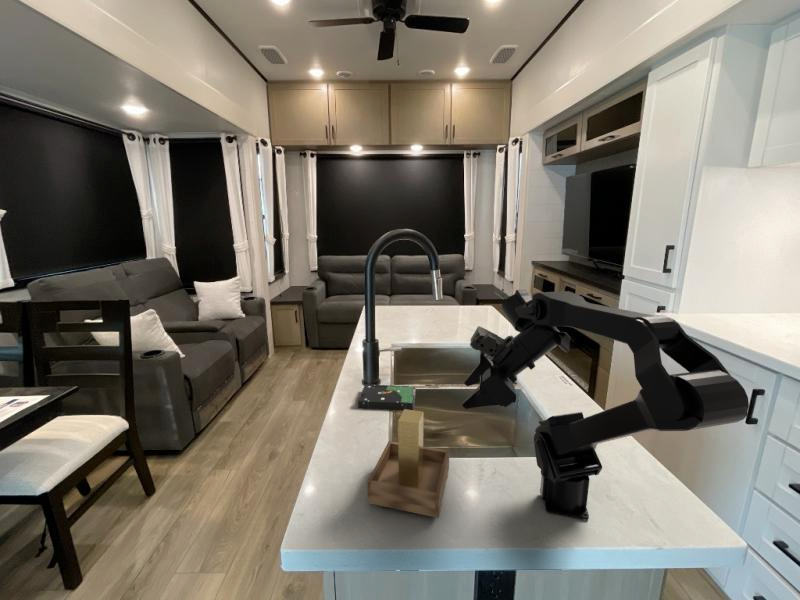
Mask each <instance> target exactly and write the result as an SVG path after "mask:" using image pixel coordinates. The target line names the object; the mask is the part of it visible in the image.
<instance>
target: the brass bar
mask: <svg viewBox="0 0 800 600" xmlns="http://www.w3.org/2000/svg"><path fill="white" fill-rule="evenodd" d="M397 421H398V422H397V425H398V426H397V431H398V432H397V433H398V435H397V436H398V440H397V443H398V461H399V484H404V485H409V486H415V487H418V486H419V483H420V480H421V477H422V474H423V447H424V411H421V410H415V409H414V410H406V409H404V410H402V413H401V415H400V417H399V418H398V420H397Z"/></svg>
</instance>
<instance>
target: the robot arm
mask: <svg viewBox="0 0 800 600" xmlns="http://www.w3.org/2000/svg"><path fill="white" fill-rule="evenodd" d="M500 308H501V311H502V313H503V314H504V316H505V317H506V319H507V320H508V322H509V324H511V326H512V327H513V329H514V330H515V332H518V334H516V335H515V336H513V335H508V336H506V337H505V338H502V337H501V336H499V335H498V334H496V333H494V332H492V331H490V330H488V329H486V328H485V327H483V326H481V325H480V326H477V327H476V329H475V330H474V333H473V335H472V336H471V338H470V339H469V340H470V341H469V343H470V344H469V346H470V347H471V348H472V349H474V350H475V351H479V361H478V362H477V364H476V365H475V367H474V368H473V370H472V371H471V372H470V374H469V375H468V376H467V377H466V379H465V380H464V382H463V383H464V385H465V386H466V387H470V386H474V385H476V384H479V385H478V386H477V387H476V389H475V390H473V392H472V393H471V394H469V396H468V397H467V398H466V399H465V400H463V402H462V403H461V405H462V407H463V408H464V409H465V410H467V409H469V410H470V409H473V408H474V409H476V408H482V407H490V406H491V407H492V406H499V407H504V408H506V409H508V408H510V407H511V406H512V405H514V404H515V403H516V401H517V391H516V386H515V385H514V384H513V383H515V382H516V381H518V375H520V374H521V373H522V372H524V371H525V370H526V369H527V368H528V369H529V370H530V371H532V370H533V369H534V368H536V365H535V363H536V362H537V361H538V360H540V359H541V358H542V357H543V356H545V355H547V354H548V353H549V352H551V351H552V350H553V349H555V348H556V347H557V346H558V347H559V348H560V349H561V350H562V351H564V352H565V353H569V352H570V341H571V336H570V335H569V334H568V333H566V332H564V331H563V332H562V331H561V332H560V330H559V329H558V327H560V328H561V327H564V328H565V327H567V328H573V329H576V330H579V331H583V332H586V333H589V334H593V335H596V336H598V337H602V338H606V339H609V340H612V341H616V342H620V343H622V344H625V345H627V346H628V347H629V349H630V351H631V353H632V355H633V363H634V372H635V373H634V374H635V378H636V381H637V382H638V383H639V385H640V387H641V389H639V392H638V394H637V396H636V397H635V399H632V400H631V401H628V402H625V403H622V404H619V405H617V406H614V407H612V408H609V409H607V410H603V411H600V412H598V413H594V414H592V415H589V416H586V417H584V413H583V411H577V412H572V413H564V414H559V415H552V416H550V417H548V418H547V419H543V420H542V419H541V420H538V424H539V425H538V426H536V428H535V430H534V432H535V434H534V436H533V444H534V453H535V459H536V460H535V461H536V465H537V467H538V469H540V475H541V477H540V478H541V479H540V489H539V490H540V497H541V500H542V501H543V502H544V507H545V511H546V512H548V513H550V514H554V515H555V514H556V515H561V516H566V517H571V518H577V519H581V520H585V521H586V520H589V519H590V516H589V511H588V508H587V505H588V498H589V497H588V496H589V487H590V476H598V475H600V473H601V472H602V469H603V464H602V463H601V461H600V458H599V455H598V454H597V451H596V448H597V446H598V445H599V444H602V443H606V442H610V441H614V440H619V439H622V438H627V437H630V436H634V435H639V434H642V433H647V432H651V431H656V432H686V431H693V430H699V429H705V428H710V427H716V426H722V425H723V426H724V425H729V424H735V423H739V422H741V421H743V420H744V419H746V417H748V415H749V414H748V410H749V409H750V408H749V406H750V404H749V397H748V394H747V391H746V389H745V388H744V386H743V385H742V384H741V383H740V382H739V380H737V379H736V378H734V377H733V376H732V375H731V373H729V371H728V369H726V367H725V366H724V365H723V363H722V362H721V361H720V359H719V358H718V357H717V356H716V355H715V354H713V353H712V352H710V351H709V350H708V349H706V348H705V347H704V346H702V344H700V343H698V342H697V341H696V340H694V339H693V338H691V337H690V336H689V335H688V334H687V333H686V331H685V330H684V329H683V327H682V326H681V325H680V324H679V322H678V321H677V320H675V318H672V317H669V316H667V315H662V314H661V315H660V314H659V315H655V314H654V315H652V314H648V313H643V312H637V311H632V310H626V309H622V308H616V307H611V306H606V305H601V304H595V303H591V302H588V301H586V300H585V299H584V297H583V296H582V295H579V294H577V293H574V292H572V291H569V290H567V291H566V290H565V291H546V292H535V293H533V295H532V297H531V296H530V294H529V292H528V291H527V290H526V289H516V290H515V293H514V294H511V295H510V296H508V297H507V298H506V299H505V300H504V302H502V303H501V307H500ZM661 351H662V352H663V353H664V354H665V355H666V356H668V357H669V358H670V359H672V360H673V361H674V362H675V363H677V364H678V365H680V366H681V367H682V368H683V369H684V370H686V371H687V372H683V373H674V374H669V372H668V371H667V370H666V368H665V366H664V365H663V362H662V356H661Z"/></svg>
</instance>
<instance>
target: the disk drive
mask: <svg viewBox="0 0 800 600" xmlns="http://www.w3.org/2000/svg"><path fill="white" fill-rule="evenodd" d="M360 393H361V394H360V396H359V397H358V399H357V409H366V410H385V409H386V411H387V410H388V411H390V410H393V411H404V409H406V410H414V411H415V409H414V407H415V400H416V394H417V391H416V386H409V385H391V384H390V385H384V384H364V387H363V388H362V390H361V392H360Z"/></svg>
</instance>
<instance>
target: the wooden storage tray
mask: <svg viewBox="0 0 800 600" xmlns="http://www.w3.org/2000/svg"><path fill="white" fill-rule="evenodd" d="M449 471H450V450H447V449H441V448H433V447H429V446H428V447H427V446H423V474H422V477H421V480H420V483H419V486H418V487H415V486H409V485H404V484H399V461H398V441H397V442H396V441H391V440H390V441H389V440H388V442H387V443H386V446H385V448H384V449H383V452H382V453H381V455H380V457H379V459H378V460H377V462H376V464H375V466H374V469H373V471H372V472H371V474H370V476H369V478H368V480H367V481H366V482H367V483H366V486H367V504H370V505H376V506H380V507H386V508H390V509H395V510H400V511H403V512H404V511H405V512H409V513H414V514H418V515H424V516H427V517H433V518H437V519H439V518H440V513H441V507H442V504H443V500H444V496H445V495H444V494H445V491H446V485H447V480H448V476H449Z"/></svg>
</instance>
